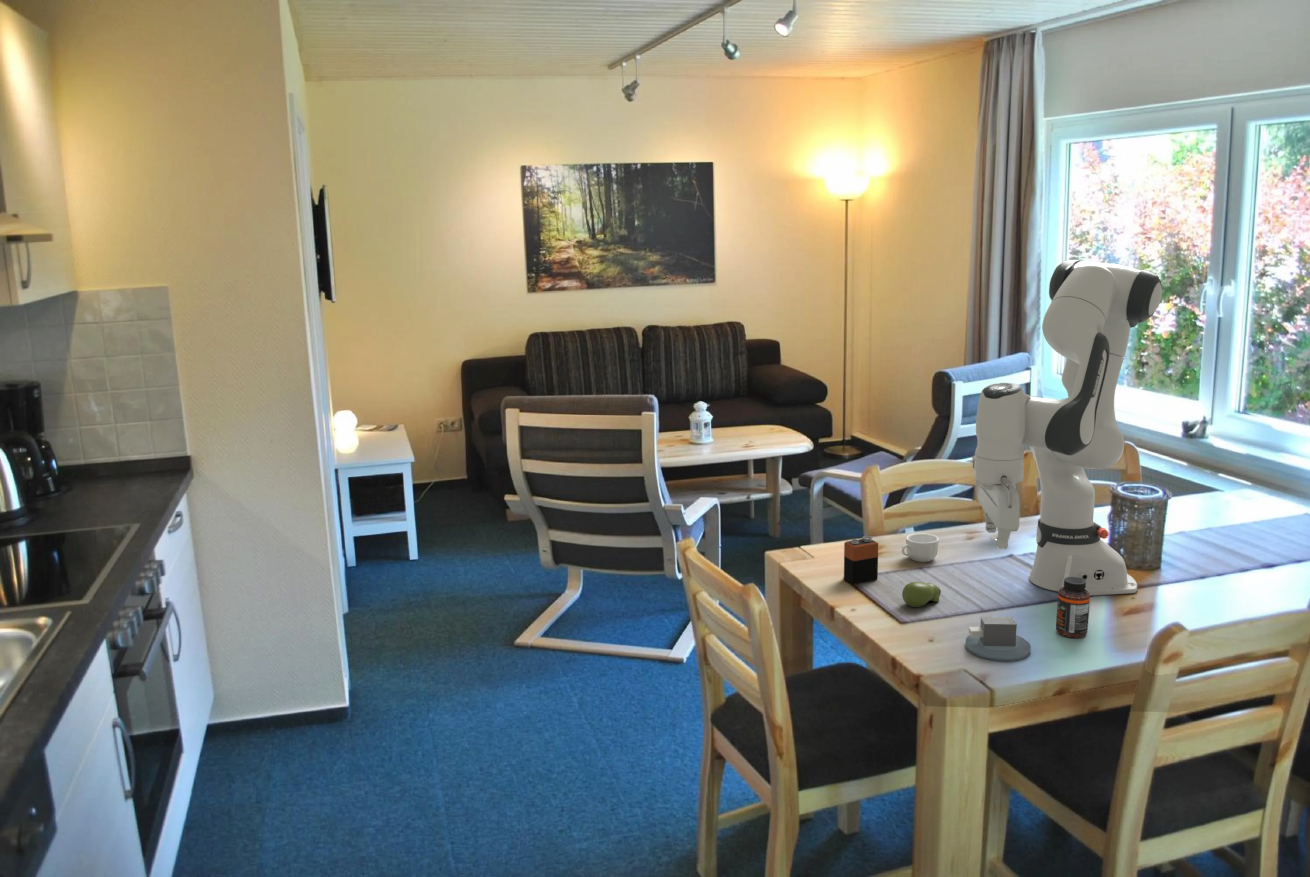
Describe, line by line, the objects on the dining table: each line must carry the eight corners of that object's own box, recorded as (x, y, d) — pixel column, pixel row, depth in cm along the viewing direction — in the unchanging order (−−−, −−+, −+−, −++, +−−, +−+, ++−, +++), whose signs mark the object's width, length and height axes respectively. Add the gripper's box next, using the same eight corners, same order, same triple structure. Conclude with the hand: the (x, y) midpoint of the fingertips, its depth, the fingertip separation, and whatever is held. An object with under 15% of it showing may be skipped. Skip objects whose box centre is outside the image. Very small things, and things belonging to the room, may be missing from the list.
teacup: (923, 552, 258) (924, 531, 257) (945, 561, 251) (945, 539, 250) (891, 559, 254) (892, 537, 252) (912, 568, 247) (913, 546, 246)
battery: (878, 580, 240) (879, 538, 237) (853, 584, 237) (854, 543, 235) (867, 574, 244) (868, 533, 241) (842, 578, 241) (843, 537, 239)
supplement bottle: (1050, 628, 211) (1053, 575, 208) (1078, 626, 211) (1082, 573, 209) (1063, 640, 205) (1067, 585, 202) (1093, 638, 205) (1096, 584, 203)
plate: (1022, 636, 207) (1022, 630, 207) (1037, 662, 196) (1037, 656, 195) (960, 635, 208) (960, 629, 208) (971, 660, 197) (972, 654, 197)
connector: (1011, 638, 203) (1012, 617, 202) (1015, 646, 200) (1016, 624, 199) (967, 638, 204) (968, 616, 203) (971, 645, 201) (972, 623, 200)
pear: (898, 580, 224) (927, 577, 230) (895, 604, 224) (924, 600, 231) (919, 587, 220) (948, 583, 226) (916, 611, 220) (945, 607, 226)
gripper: (1030, 484, 186) (1026, 557, 189) (1003, 456, 206) (1001, 523, 209) (993, 485, 187) (991, 557, 190) (971, 457, 207) (969, 523, 210)
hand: (996, 539), depth 200 cm, fingers open, 8 cm apart
